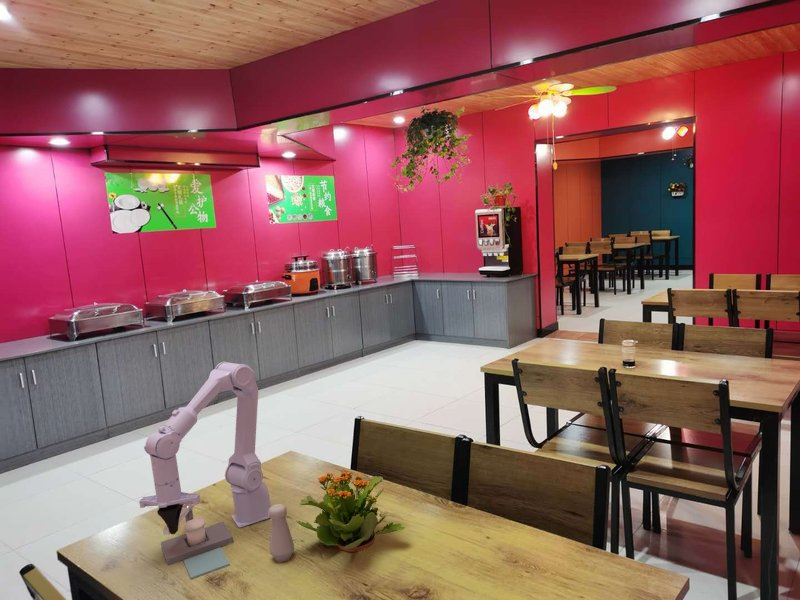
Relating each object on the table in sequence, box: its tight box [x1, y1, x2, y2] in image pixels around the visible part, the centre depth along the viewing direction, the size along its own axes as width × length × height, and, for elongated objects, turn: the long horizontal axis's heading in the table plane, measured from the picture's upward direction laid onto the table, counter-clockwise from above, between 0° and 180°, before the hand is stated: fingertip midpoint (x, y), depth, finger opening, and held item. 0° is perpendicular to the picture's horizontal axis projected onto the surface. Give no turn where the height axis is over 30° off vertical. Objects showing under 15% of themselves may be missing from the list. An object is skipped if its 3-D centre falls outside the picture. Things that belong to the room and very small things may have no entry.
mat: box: [183, 547, 231, 580], centre depth 140 cm, size 9×9×1 cm
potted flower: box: [295, 471, 406, 553], centre depth 142 cm, size 25×24×18 cm
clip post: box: [184, 510, 194, 523], centre depth 155 cm, size 2×2×6 cm
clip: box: [162, 504, 194, 536], centre depth 149 cm, size 14×2×1 cm, turn 176°
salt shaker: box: [269, 503, 295, 563], centre depth 139 cm, size 6×6×13 cm
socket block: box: [160, 521, 234, 566], centre depth 148 cm, size 16×10×2 cm, turn 121°
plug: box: [183, 517, 207, 547], centre depth 148 cm, size 5×5×6 cm
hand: (174, 532), depth 143 cm, fingers closed
